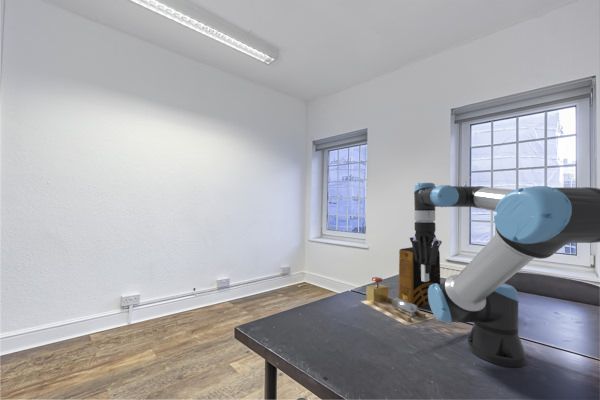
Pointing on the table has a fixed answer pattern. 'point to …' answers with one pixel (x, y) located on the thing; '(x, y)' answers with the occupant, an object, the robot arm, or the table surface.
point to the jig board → (413, 320)
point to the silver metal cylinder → (405, 307)
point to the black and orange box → (415, 278)
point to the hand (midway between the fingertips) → (425, 280)
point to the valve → (377, 291)
